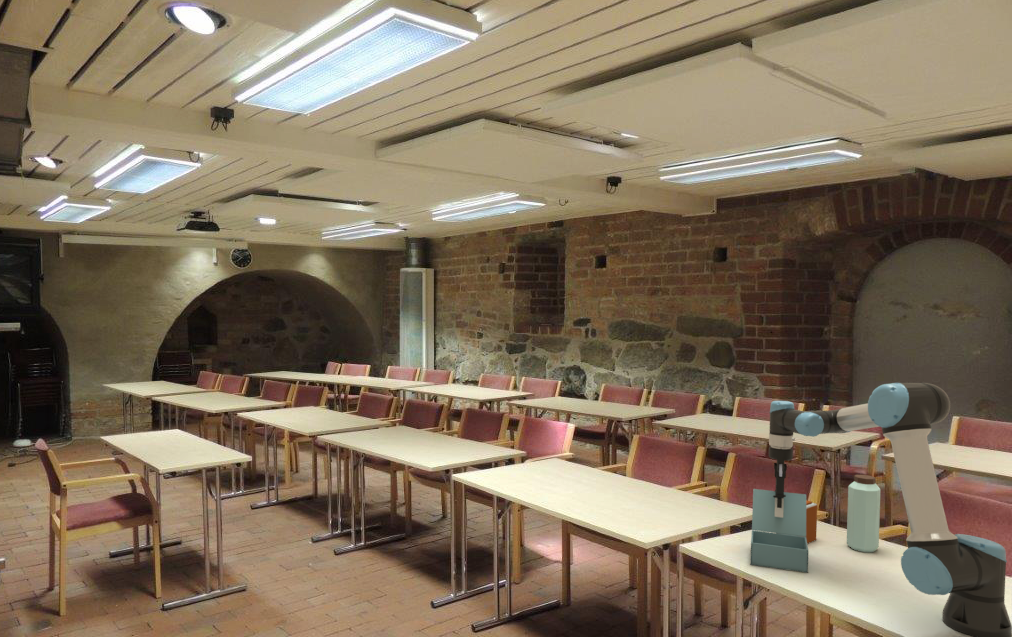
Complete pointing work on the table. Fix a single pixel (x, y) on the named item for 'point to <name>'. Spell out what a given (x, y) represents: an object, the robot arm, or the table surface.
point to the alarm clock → (810, 521)
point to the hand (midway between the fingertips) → (778, 516)
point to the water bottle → (863, 514)
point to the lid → (788, 524)
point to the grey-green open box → (779, 551)
